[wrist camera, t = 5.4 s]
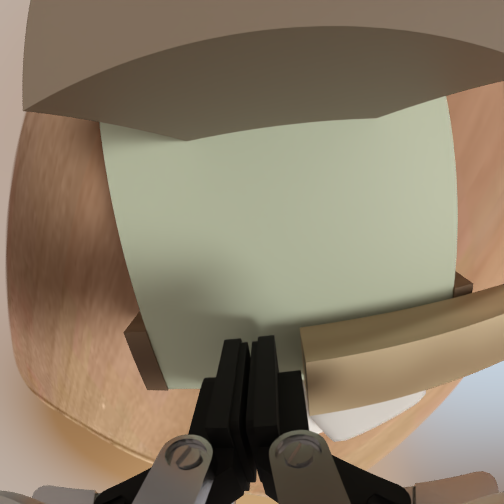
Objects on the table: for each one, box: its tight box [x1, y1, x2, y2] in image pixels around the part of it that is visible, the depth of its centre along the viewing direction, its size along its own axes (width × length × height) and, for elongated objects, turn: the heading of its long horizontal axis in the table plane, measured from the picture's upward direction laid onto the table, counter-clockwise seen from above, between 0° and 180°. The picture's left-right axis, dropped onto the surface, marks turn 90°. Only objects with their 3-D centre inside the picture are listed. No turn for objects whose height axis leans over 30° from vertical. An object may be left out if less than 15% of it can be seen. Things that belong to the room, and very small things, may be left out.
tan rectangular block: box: [300, 284, 504, 416], centre depth 9 cm, size 2×10×2 cm, turn 99°
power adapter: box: [302, 380, 426, 442], centre depth 15 cm, size 11×5×6 cm, turn 124°
